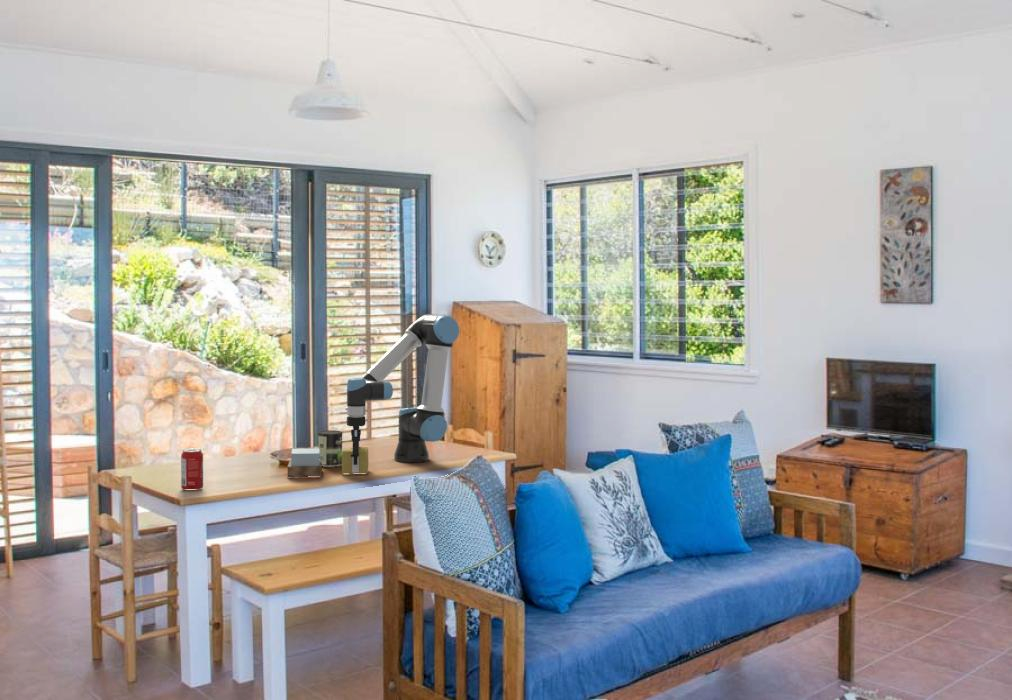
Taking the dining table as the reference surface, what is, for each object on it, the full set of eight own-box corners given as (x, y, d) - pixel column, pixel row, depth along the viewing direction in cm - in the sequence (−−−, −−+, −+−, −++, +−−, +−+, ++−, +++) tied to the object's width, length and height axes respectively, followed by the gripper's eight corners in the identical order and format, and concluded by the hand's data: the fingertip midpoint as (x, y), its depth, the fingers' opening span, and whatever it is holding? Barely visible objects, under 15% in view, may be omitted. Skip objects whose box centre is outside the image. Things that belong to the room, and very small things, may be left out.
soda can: (177, 491, 376) (177, 451, 375) (187, 486, 384) (187, 447, 383) (197, 492, 375) (197, 452, 374) (206, 487, 383) (206, 448, 382)
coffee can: (345, 463, 436) (346, 430, 435) (337, 467, 426) (337, 434, 424) (323, 461, 438) (323, 429, 437) (313, 466, 428) (314, 433, 427)
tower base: (321, 472, 418) (321, 460, 418) (320, 478, 405) (320, 466, 405) (289, 472, 416) (289, 460, 416) (287, 479, 403) (287, 466, 403)
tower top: (319, 460, 417) (319, 448, 417) (319, 465, 406) (319, 453, 406) (291, 460, 415) (292, 448, 415) (291, 466, 404) (291, 453, 404)
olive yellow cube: (343, 470, 421) (343, 446, 420) (369, 470, 422) (369, 446, 421) (341, 475, 411) (341, 451, 410) (368, 475, 412) (368, 451, 411)
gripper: (347, 411, 425) (346, 464, 427) (346, 420, 403) (345, 475, 405) (365, 411, 426) (364, 464, 428) (365, 420, 404) (364, 475, 406)
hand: (355, 469), depth 416 cm, fingers closed on olive yellow cube, 10 cm apart
